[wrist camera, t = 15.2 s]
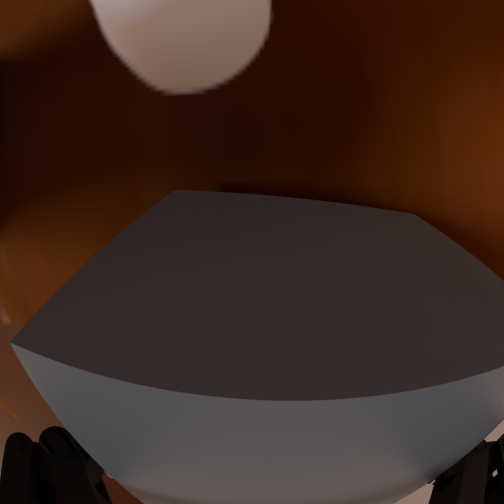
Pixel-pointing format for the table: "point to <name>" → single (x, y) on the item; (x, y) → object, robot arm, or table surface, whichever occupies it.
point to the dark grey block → (273, 352)
